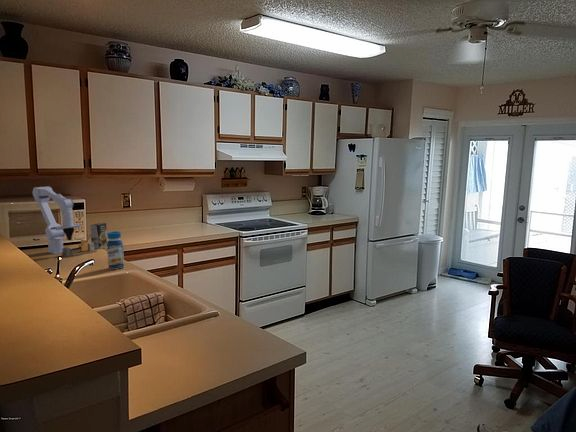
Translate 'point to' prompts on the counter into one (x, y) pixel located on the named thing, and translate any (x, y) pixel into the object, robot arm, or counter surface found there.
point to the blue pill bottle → (115, 250)
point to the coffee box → (99, 235)
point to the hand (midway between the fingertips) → (69, 240)
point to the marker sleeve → (83, 246)
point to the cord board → (69, 253)
